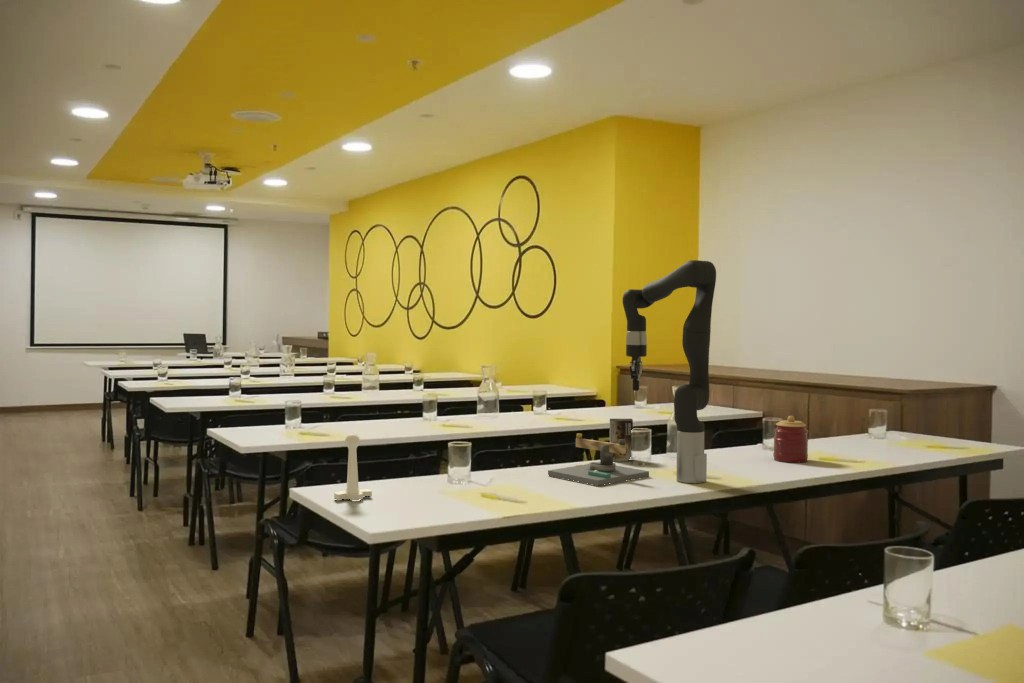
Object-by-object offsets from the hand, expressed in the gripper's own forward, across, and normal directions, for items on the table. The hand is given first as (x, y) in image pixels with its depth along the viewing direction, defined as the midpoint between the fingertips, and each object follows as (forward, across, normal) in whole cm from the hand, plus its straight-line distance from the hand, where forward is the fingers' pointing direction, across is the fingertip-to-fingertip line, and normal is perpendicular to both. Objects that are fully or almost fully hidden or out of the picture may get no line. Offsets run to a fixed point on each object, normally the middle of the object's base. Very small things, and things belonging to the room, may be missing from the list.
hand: (636, 390), depth 315 cm
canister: (+29, +39, -54) cm, 73 cm away
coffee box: (+29, +17, +9) cm, 35 cm away
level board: (+29, -20, +9) cm, 36 cm away
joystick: (+29, -83, +71) cm, 113 cm away
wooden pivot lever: (+27, -18, +9) cm, 33 cm away
